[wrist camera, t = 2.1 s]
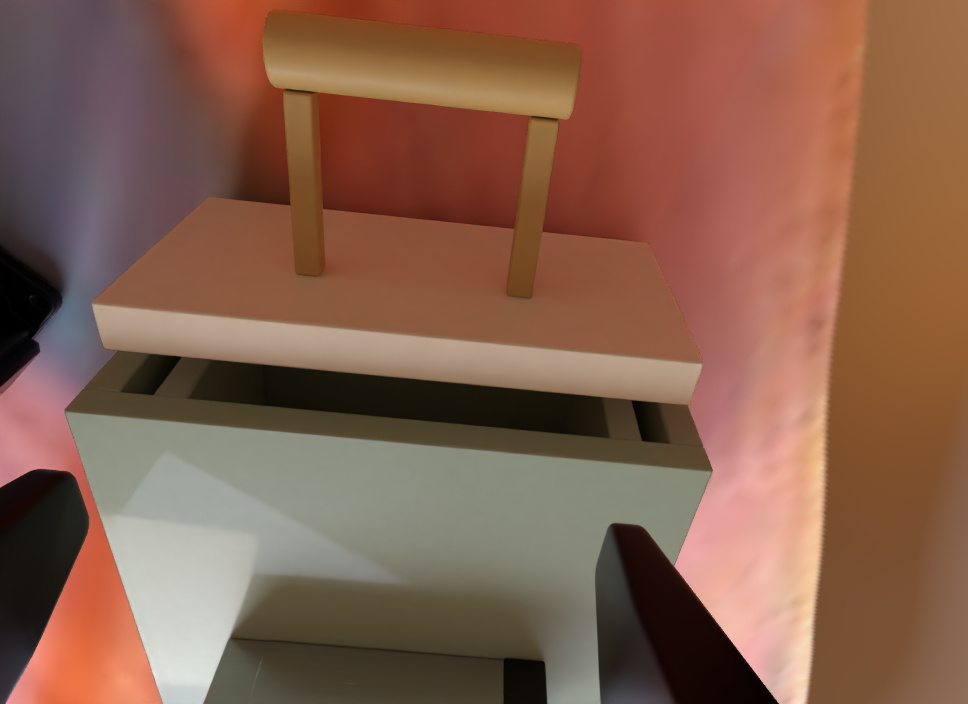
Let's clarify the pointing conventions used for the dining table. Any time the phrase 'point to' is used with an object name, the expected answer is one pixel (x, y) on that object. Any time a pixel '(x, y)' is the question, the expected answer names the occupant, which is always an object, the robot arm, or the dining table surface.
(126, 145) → the dining table surface
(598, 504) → the cabinet
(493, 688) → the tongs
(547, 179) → the drawer
